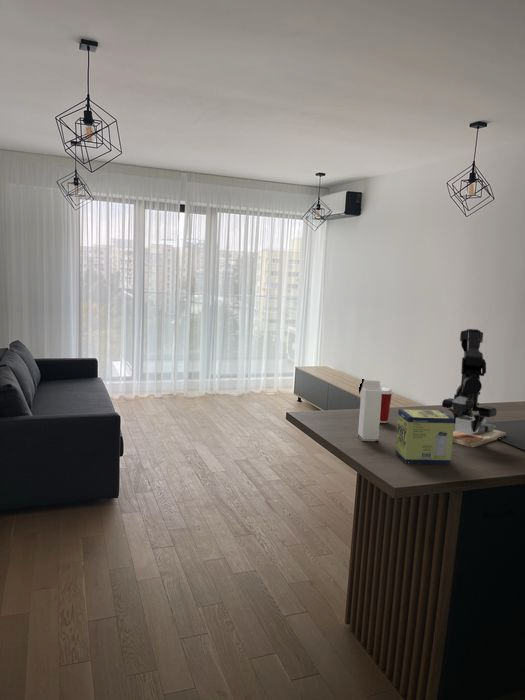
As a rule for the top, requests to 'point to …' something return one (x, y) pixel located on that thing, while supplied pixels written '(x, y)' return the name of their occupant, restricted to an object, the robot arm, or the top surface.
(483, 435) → the board
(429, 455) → the protein box
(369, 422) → the milk
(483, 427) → the bench vise
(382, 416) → the paper cup
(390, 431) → the top surface
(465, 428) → the steel collar
